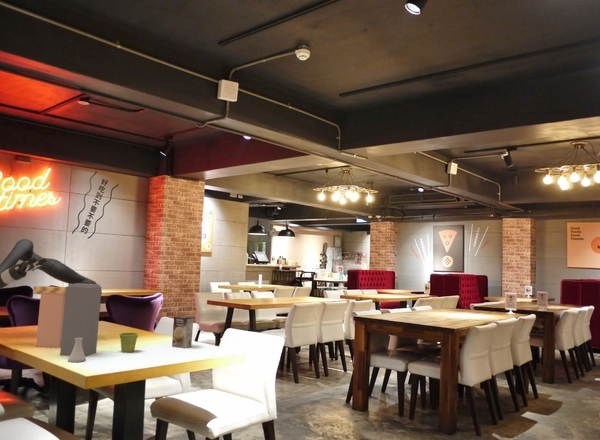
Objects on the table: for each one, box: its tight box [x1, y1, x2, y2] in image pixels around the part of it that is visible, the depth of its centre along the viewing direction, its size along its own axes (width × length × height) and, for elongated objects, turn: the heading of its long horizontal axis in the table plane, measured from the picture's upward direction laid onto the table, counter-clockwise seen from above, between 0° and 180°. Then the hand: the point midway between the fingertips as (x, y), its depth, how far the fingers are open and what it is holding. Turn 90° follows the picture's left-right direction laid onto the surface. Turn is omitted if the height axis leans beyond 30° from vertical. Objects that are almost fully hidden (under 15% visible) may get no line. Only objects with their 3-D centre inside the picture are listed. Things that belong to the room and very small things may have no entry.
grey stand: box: [59, 283, 102, 357], centre depth 235 cm, size 12×11×33 cm
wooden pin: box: [32, 285, 66, 295], centre depth 254 cm, size 24×5×5 cm, turn 86°
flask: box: [67, 338, 87, 363], centre depth 218 cm, size 7×7×10 cm
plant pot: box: [118, 332, 140, 353], centre depth 245 cm, size 9×9×9 cm
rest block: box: [35, 292, 65, 349], centre depth 253 cm, size 12×10×27 cm
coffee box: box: [171, 315, 194, 349], centre depth 266 cm, size 9×6×16 cm
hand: (41, 259), depth 251 cm, fingers open, 8 cm apart
